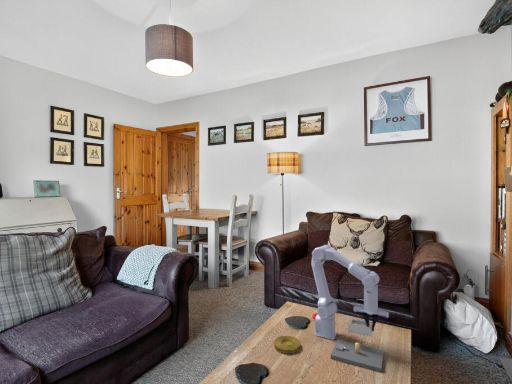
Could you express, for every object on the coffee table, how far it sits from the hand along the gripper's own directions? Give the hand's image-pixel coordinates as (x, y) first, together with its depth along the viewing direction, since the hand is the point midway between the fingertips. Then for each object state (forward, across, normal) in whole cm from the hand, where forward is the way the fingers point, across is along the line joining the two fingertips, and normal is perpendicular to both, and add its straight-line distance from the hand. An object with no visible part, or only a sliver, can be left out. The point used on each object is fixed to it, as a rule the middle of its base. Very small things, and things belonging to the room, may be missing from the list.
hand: (370, 329), depth 129 cm
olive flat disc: (+10, -35, -14) cm, 39 cm away
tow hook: (+10, -28, +21) cm, 37 cm away
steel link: (+2, -4, 0) cm, 5 cm away
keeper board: (+10, -5, -7) cm, 13 cm away
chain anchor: (+8, -11, -7) cm, 15 cm away
